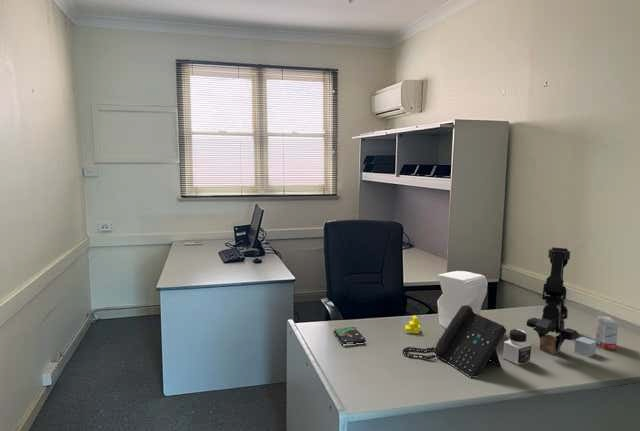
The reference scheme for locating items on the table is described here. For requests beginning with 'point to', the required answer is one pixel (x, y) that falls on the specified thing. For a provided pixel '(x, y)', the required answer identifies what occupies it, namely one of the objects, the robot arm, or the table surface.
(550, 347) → the walnut cube
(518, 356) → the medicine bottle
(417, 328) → the yellow ball pyramid
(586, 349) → the painted cube
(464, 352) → the office phone
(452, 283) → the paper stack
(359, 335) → the disk drive
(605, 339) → the ink box
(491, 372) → the table surface
